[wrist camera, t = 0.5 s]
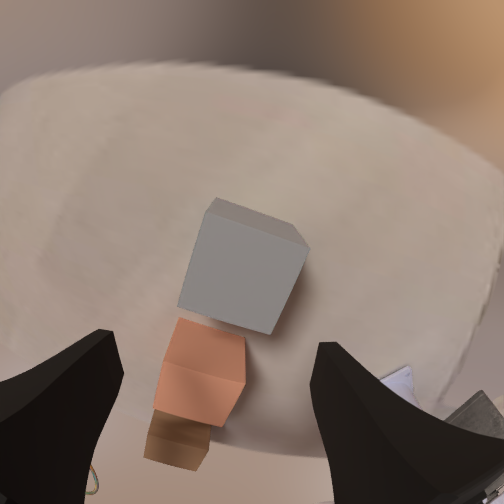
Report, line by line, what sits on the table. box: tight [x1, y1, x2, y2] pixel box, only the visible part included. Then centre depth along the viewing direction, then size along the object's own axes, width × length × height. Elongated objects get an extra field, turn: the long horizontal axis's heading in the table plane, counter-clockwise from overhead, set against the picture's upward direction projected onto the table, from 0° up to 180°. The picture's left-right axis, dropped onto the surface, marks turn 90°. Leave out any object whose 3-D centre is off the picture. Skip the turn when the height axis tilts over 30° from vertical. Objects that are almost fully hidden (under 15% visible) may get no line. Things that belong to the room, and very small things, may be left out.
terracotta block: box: [153, 317, 246, 427], centre depth 18 cm, size 5×5×5 cm
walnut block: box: [144, 409, 211, 471], centre depth 21 cm, size 5×5×5 cm
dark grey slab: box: [444, 390, 504, 504], centre depth 18 cm, size 4×14×18 cm, turn 139°
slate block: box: [177, 197, 310, 335], centre depth 15 cm, size 5×5×5 cm
